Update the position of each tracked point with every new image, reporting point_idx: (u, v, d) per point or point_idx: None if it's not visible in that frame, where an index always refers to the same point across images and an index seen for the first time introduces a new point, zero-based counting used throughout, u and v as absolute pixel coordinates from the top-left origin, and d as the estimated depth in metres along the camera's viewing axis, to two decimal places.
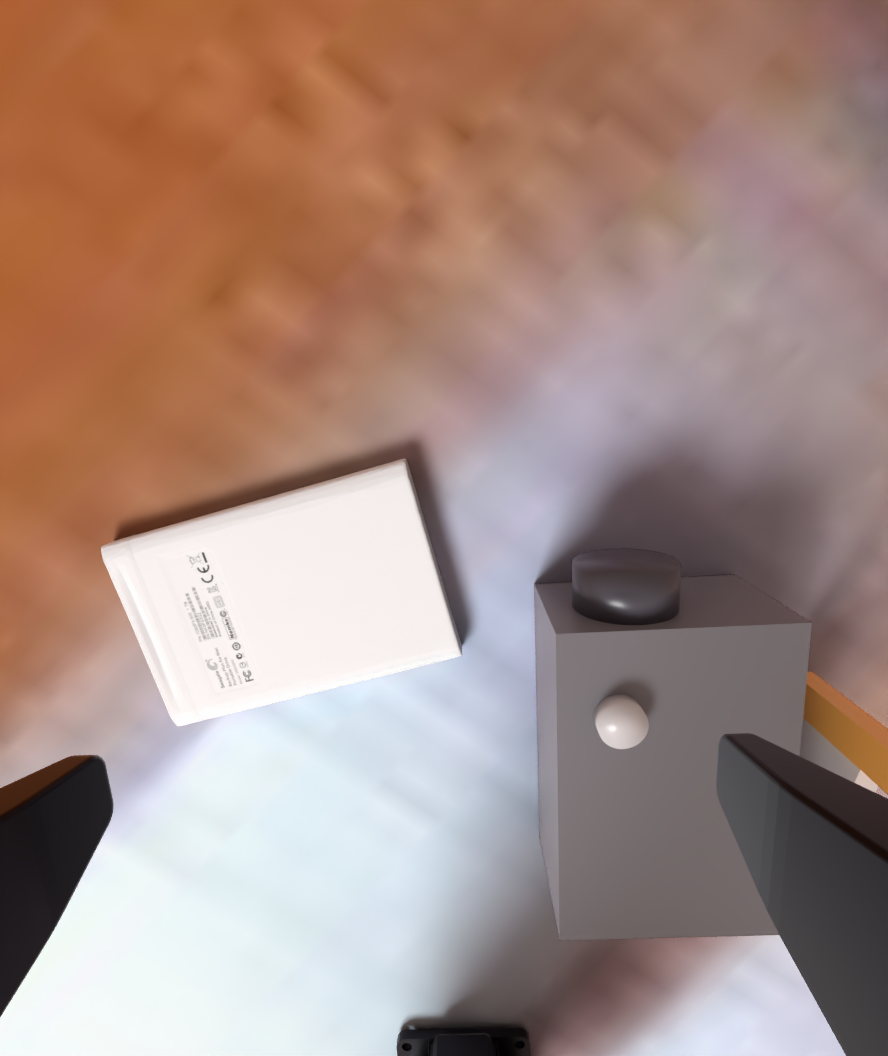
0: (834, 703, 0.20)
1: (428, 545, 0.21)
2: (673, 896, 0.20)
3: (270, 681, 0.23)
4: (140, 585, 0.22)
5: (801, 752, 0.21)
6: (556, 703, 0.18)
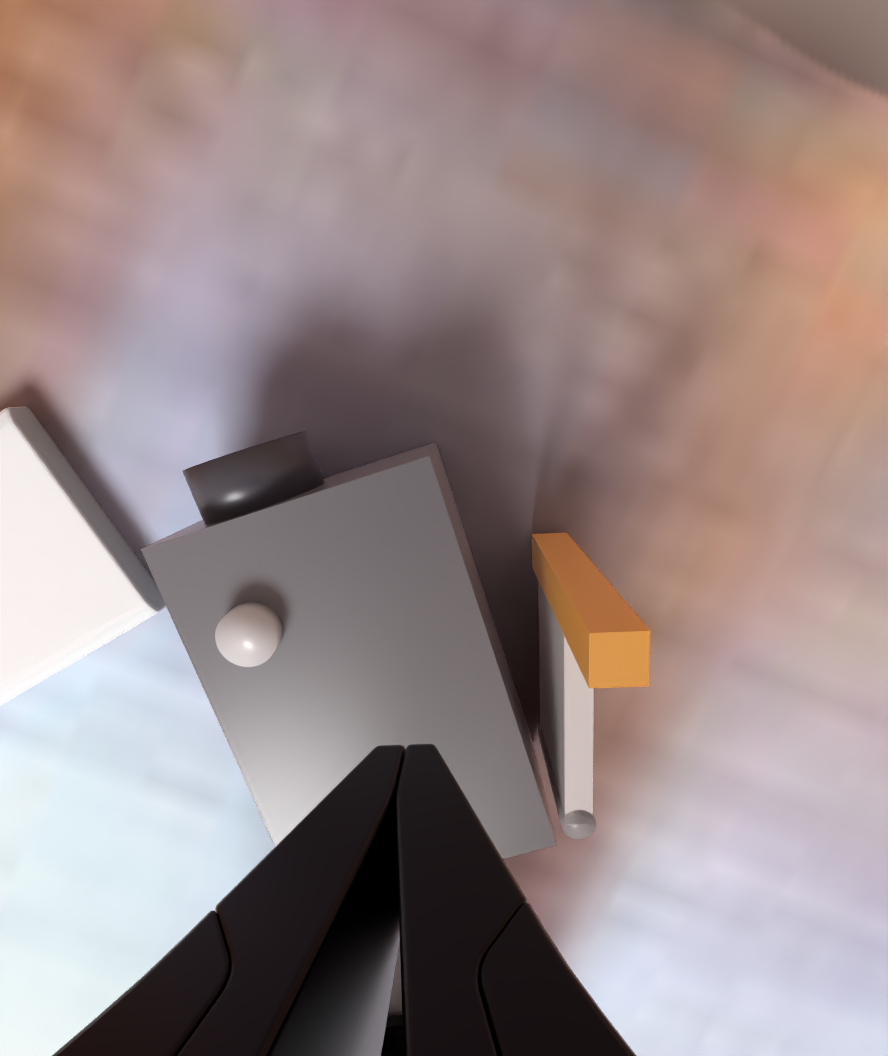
0: (549, 555, 0.17)
1: (69, 495, 0.19)
2: None
3: None
4: None
5: (548, 625, 0.18)
6: (180, 632, 0.15)
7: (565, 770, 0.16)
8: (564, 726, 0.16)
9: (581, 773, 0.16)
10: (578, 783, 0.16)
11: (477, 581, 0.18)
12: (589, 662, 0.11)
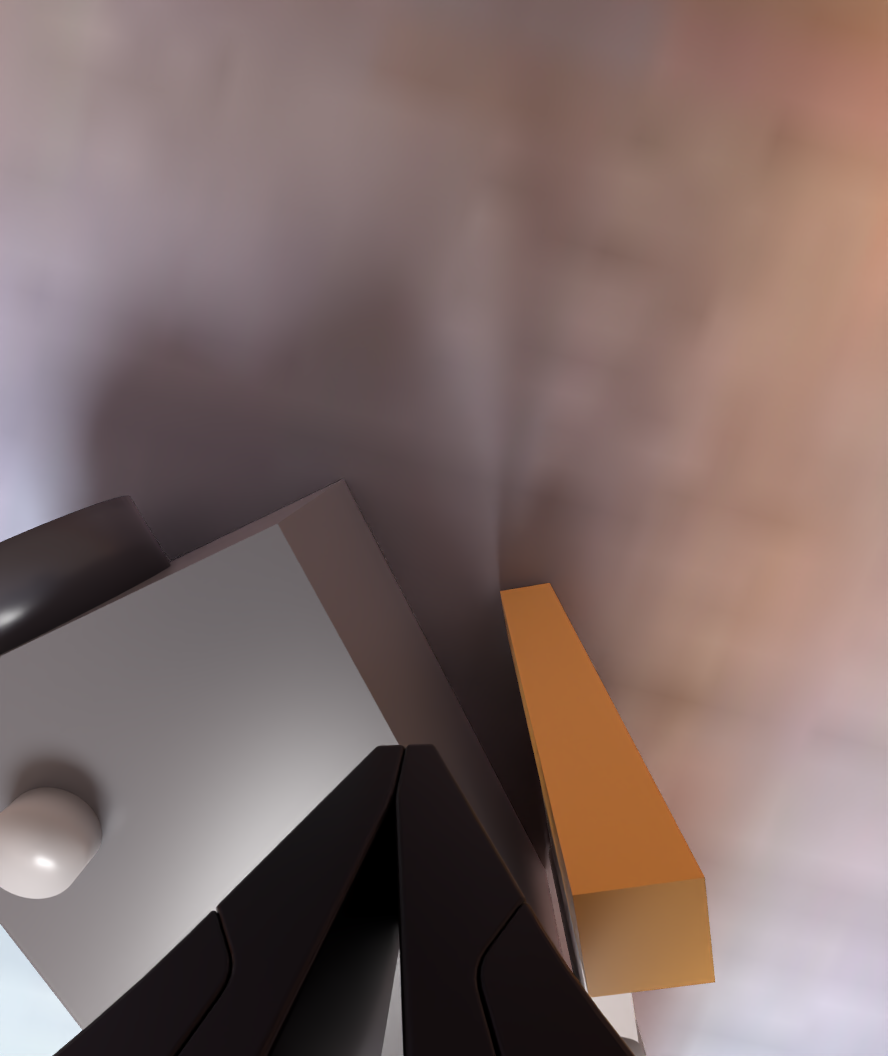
0: (519, 638, 0.11)
1: None
2: None
3: None
4: None
5: None
6: None
7: (585, 982, 0.10)
8: None
9: None
10: (609, 999, 0.10)
11: (422, 679, 0.12)
12: (582, 950, 0.05)
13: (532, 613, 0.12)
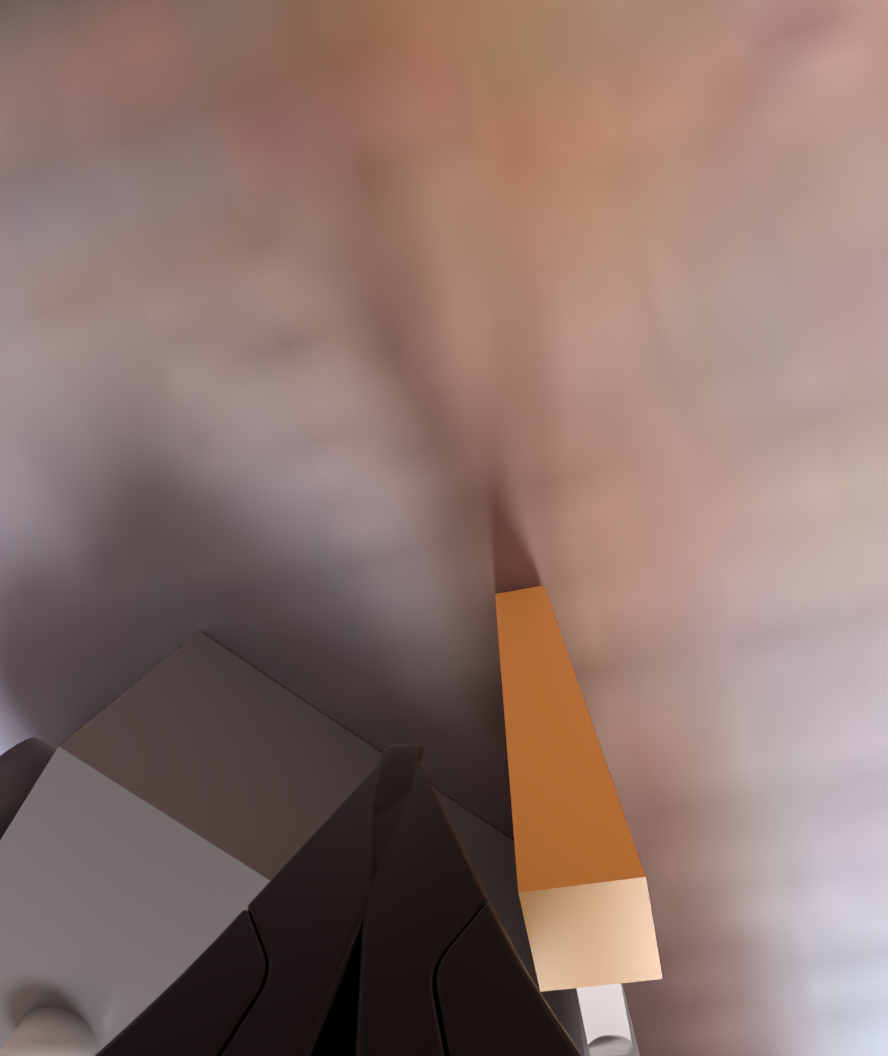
0: (506, 641, 0.11)
1: None
2: None
3: None
4: None
5: None
6: None
7: None
8: None
9: None
10: (600, 998, 0.10)
11: (321, 775, 0.13)
12: (531, 945, 0.05)
13: (522, 616, 0.12)
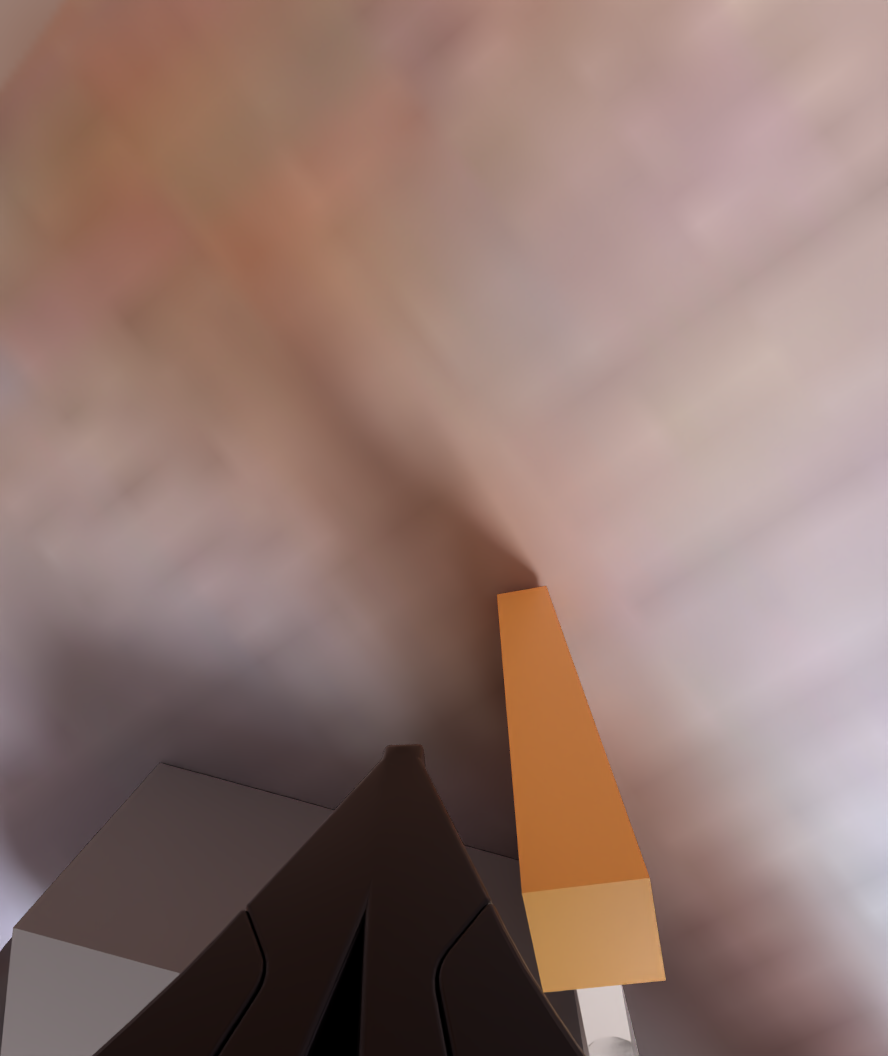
0: (508, 642, 0.11)
1: None
2: None
3: None
4: None
5: None
6: None
7: None
8: None
9: None
10: (600, 999, 0.10)
11: None
12: (534, 946, 0.05)
13: (524, 616, 0.12)
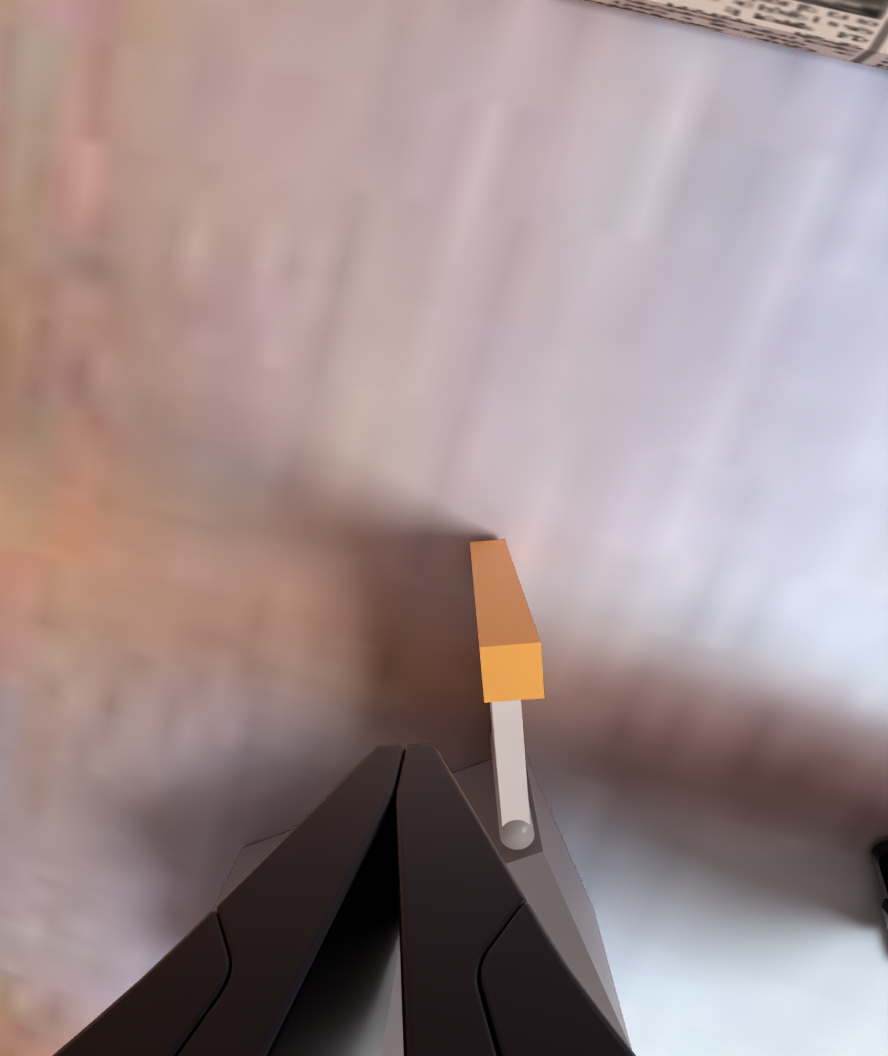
0: (477, 564, 0.17)
1: None
2: None
3: None
4: None
5: None
6: None
7: (499, 781, 0.16)
8: (494, 736, 0.16)
9: (515, 783, 0.16)
10: (513, 793, 0.16)
11: None
12: (482, 676, 0.11)
13: (488, 553, 0.18)
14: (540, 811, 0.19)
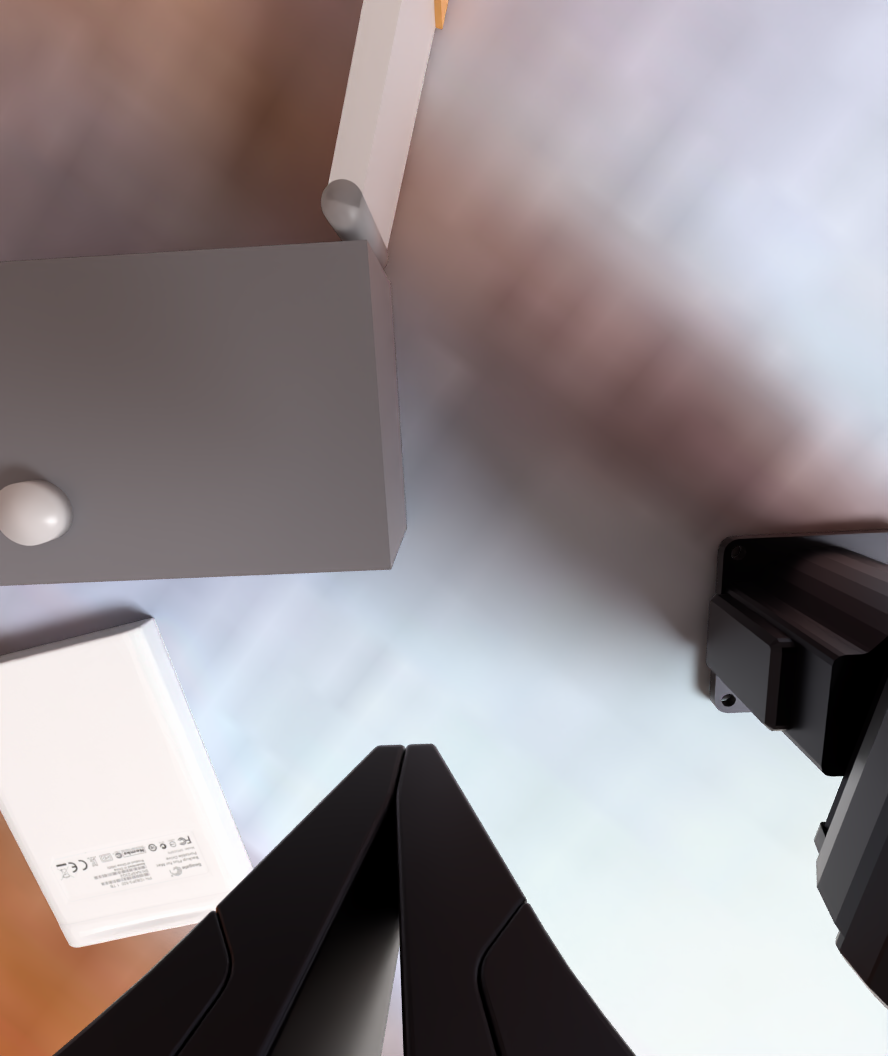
0: None
1: (14, 659, 0.20)
2: (307, 416, 0.14)
3: (188, 820, 0.21)
4: (99, 921, 0.23)
5: None
6: (41, 582, 0.15)
7: (343, 113, 0.13)
8: (356, 39, 0.12)
9: (361, 122, 0.13)
10: (354, 137, 0.13)
11: None
12: None
13: None
14: (383, 298, 0.16)
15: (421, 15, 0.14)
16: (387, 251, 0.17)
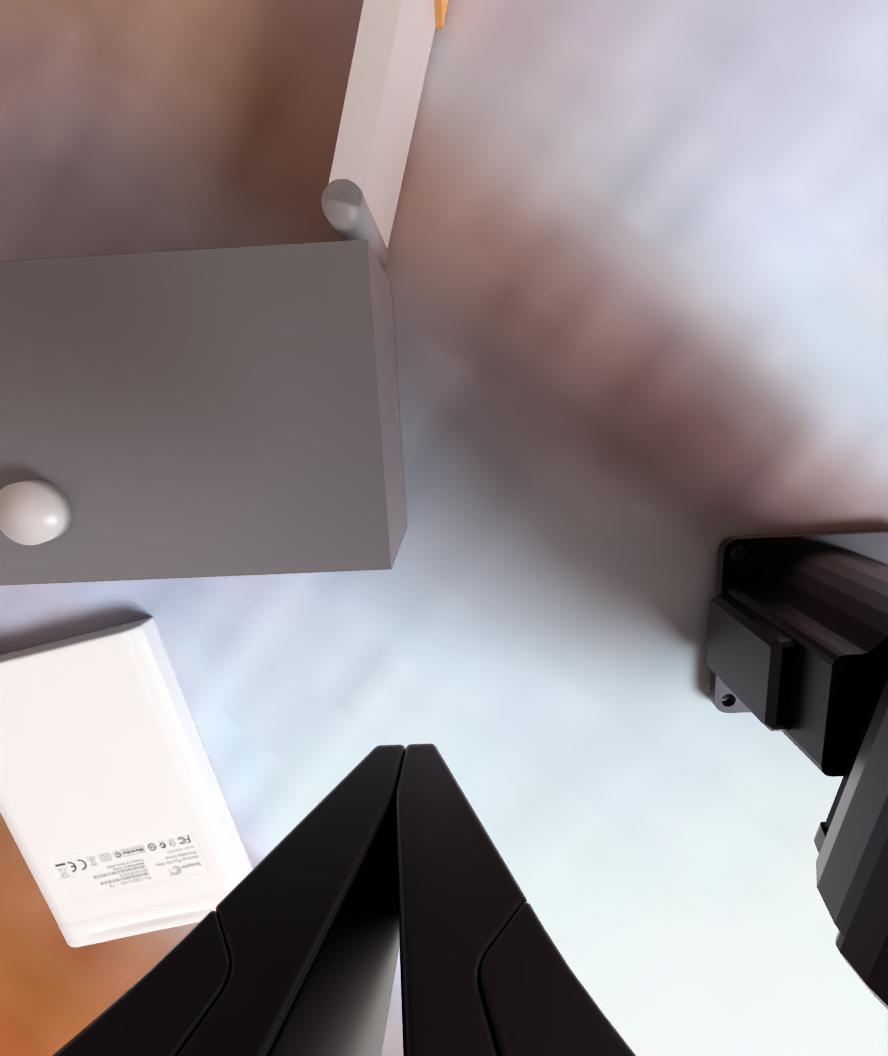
0: None
1: (13, 658, 0.20)
2: (307, 416, 0.14)
3: (187, 820, 0.21)
4: (97, 921, 0.22)
5: None
6: (41, 582, 0.15)
7: (343, 113, 0.13)
8: (356, 39, 0.12)
9: (361, 122, 0.13)
10: (355, 137, 0.13)
11: None
12: None
13: None
14: (383, 298, 0.16)
15: (421, 15, 0.14)
16: (387, 251, 0.17)
